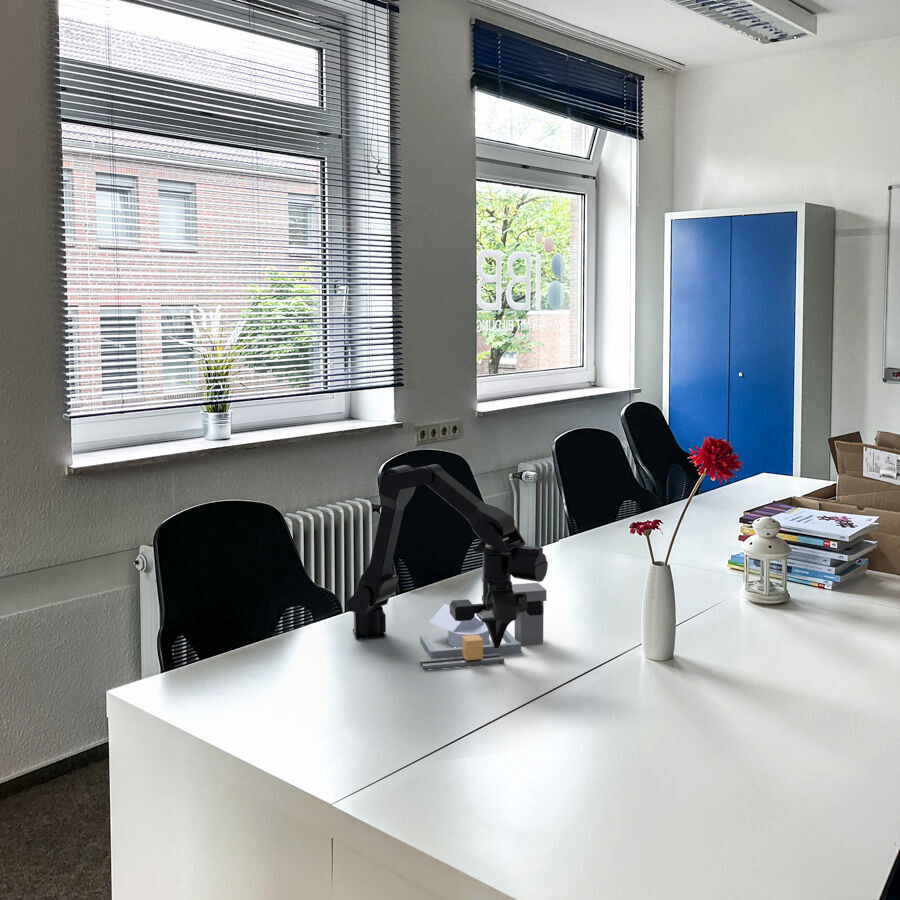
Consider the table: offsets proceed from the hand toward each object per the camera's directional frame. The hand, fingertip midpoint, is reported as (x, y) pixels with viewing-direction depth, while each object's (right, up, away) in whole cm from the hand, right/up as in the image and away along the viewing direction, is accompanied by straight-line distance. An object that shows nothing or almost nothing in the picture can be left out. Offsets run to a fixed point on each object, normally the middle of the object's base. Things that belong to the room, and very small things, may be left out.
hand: (496, 647), depth 206 cm
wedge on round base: (-7, -1, +13) cm, 15 cm away
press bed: (-2, -1, +9) cm, 10 cm away
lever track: (-7, -3, -1) cm, 8 cm away
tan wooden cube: (-5, -3, -1) cm, 6 cm away
